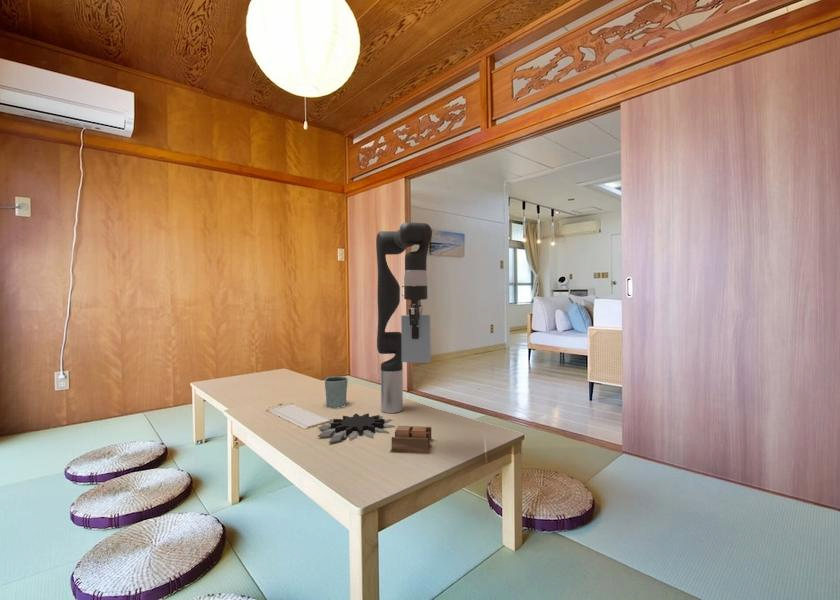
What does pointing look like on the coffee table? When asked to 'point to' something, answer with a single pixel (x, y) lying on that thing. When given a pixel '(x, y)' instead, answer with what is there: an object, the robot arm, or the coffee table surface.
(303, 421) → the baseboard molding
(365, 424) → the decorative piece
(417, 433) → the offcut
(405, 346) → the tall board
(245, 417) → the coffee table surface
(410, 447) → the rack
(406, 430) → the offcut
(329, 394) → the teal cup
